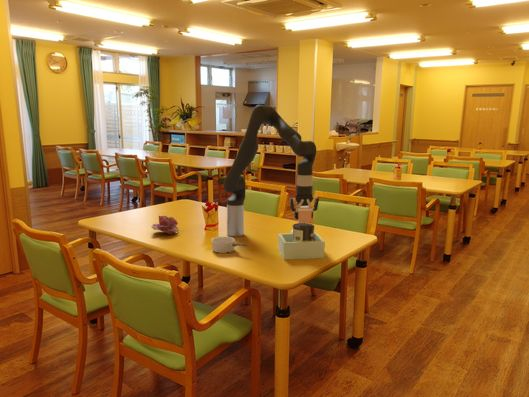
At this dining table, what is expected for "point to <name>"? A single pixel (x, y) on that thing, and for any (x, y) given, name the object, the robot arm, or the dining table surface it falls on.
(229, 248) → the saucepan
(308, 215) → the pink block
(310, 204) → the robot arm
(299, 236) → the coffee can
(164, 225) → the flower
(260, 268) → the dining table surface
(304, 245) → the tote
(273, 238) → the dining table surface
